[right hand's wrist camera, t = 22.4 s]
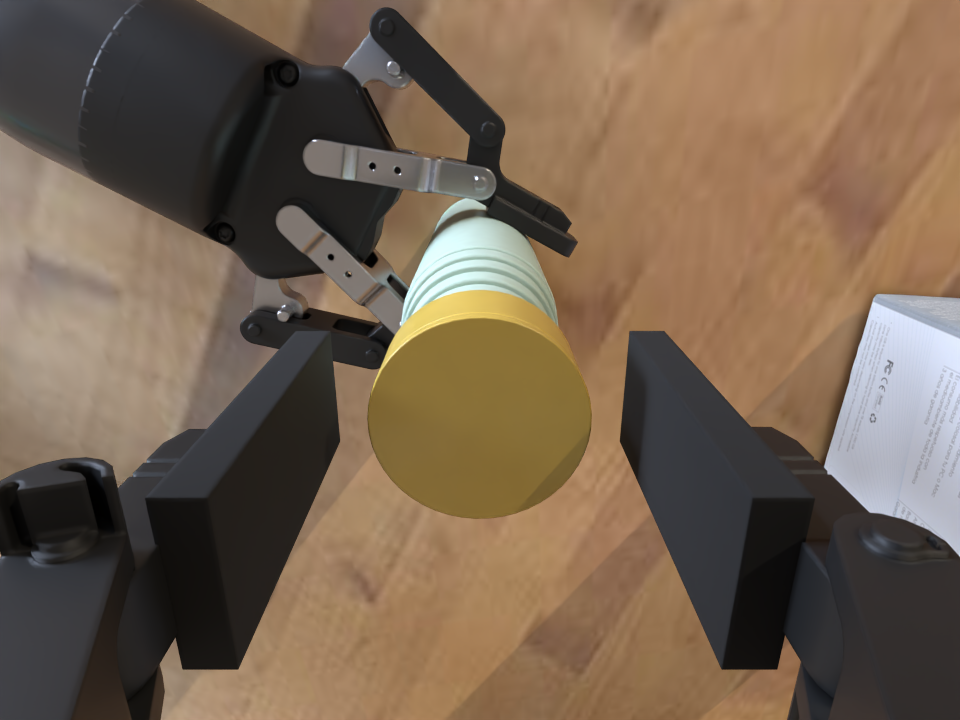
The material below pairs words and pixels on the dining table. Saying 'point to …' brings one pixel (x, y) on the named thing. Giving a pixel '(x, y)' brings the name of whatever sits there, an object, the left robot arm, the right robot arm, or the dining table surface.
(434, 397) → the cap
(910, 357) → the hard drive box
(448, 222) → the bottle
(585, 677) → the dining table surface
